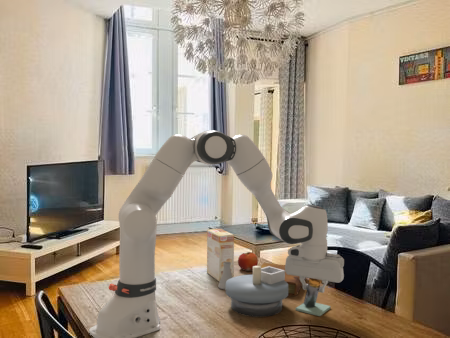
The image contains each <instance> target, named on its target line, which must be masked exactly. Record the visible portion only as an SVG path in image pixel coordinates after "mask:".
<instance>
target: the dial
mask: <svg viewBox="0 0 450 338" xmlns="http://www.w3.org/2000/svg"><path fill="white" fill-rule="evenodd" d="M252 274H253V275H252ZM252 274H242V275H236V276H234V277H233V278H230V279H229V280H227V281H226V290H225V294H226V296H227V297H229V298H230V299H231V298H232V299H234V300H237V301H241V302H247V303H272V302H277V301H280V300H282V301H283V300H285V299H286V298H288V296H289V295H288V283H287V282H286V281H284V280H285V270H281V269H278V268H274V267H270V266H268V267H264V268H261V265H257V266H253V270H252Z"/></svg>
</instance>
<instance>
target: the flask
mask: <svg viewBox="0 0 450 338" xmlns="http://www.w3.org/2000/svg"><path fill="white" fill-rule="evenodd" d="M223 264H224V269H223V274H222V277H221V279H220V282H219V281H218V285H217V286H218V289H220V290H225V291H226V281H227V280H229V279H230V278H232V274H231V270H230V265H231V262H223Z"/></svg>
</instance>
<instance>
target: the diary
mask: <svg viewBox="0 0 450 338" xmlns="http://www.w3.org/2000/svg"><path fill="white" fill-rule="evenodd" d="M260 266H261V268H264V267H268V266H270V267H274V268H278V269H281V270H285V264H281V263H280V264H278V263H270V262H269V263H267V262H263V263H262V264H261V265H260ZM251 275H253V273H252V274H251ZM306 279H307V278H306V277H305V279H304V280H305V281H306ZM284 281H286V282H287V283H288V296H290V297H296V296H297V295H298V293H299V292H300V289H301V288H302V287H303V284H302V283H301V281H300V276H294V275H288V274H287V273H286V272H285V280H284Z"/></svg>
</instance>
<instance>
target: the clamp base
mask: <svg viewBox="0 0 450 338" xmlns="http://www.w3.org/2000/svg"><path fill="white" fill-rule="evenodd" d="M230 303H231V304H230V306H231V307H230V308H231V309H232V311H233V312H235V313H237V314H239V315H242V316H245V317H246V316H247V317H254V318H255V317H256V318H260V317H261V318H263V317H264V318H265V317H271V316H274V315H277V314H279V313H280V312H282V310H283V300H280V301H277V302H272V303H247V302H241V301H237V300H234V299H232V298H230Z"/></svg>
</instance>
